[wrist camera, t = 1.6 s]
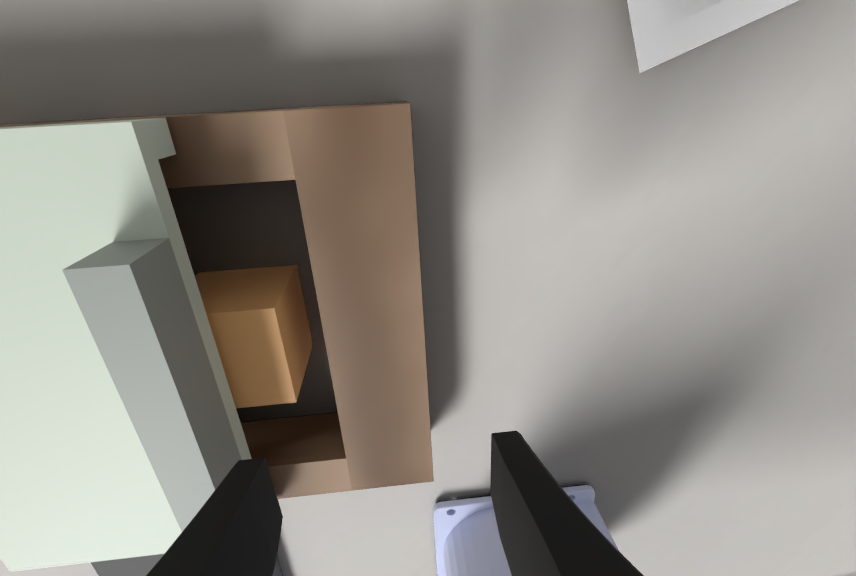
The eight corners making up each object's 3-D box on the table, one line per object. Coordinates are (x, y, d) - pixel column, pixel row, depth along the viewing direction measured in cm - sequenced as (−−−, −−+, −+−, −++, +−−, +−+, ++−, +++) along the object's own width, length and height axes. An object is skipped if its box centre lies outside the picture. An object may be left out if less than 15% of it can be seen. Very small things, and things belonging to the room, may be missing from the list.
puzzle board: (405, 101, 15) (409, 103, 13) (427, 433, 22) (433, 481, 19) (-458, 150, 14) (-668, 165, 11) (-146, 493, 20) (-227, 555, 18)
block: (297, 263, 18) (274, 308, 14) (313, 344, 19) (296, 402, 16) (199, 271, 17) (150, 318, 14) (224, 352, 19) (186, 413, 16)
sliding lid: (165, 117, 12) (77, 127, 9) (278, 502, 19) (254, 593, 15) (-217, 139, 11) (-477, 159, 8) (44, 528, 18) (-36, 630, 15)
